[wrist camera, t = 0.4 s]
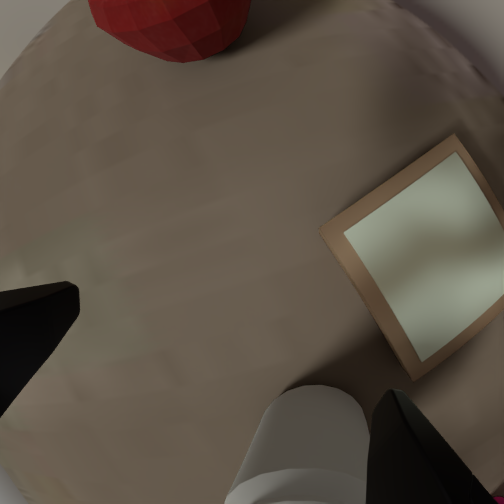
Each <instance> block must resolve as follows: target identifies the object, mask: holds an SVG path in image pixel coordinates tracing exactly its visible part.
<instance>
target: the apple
mask: <svg viewBox="0 0 504 504" xmlns="http://www.w3.org/2000/svg"><path fill="white" fill-rule="evenodd" d="M88 2H89V6H90V9H91V13H92V15H93V18H94V20H95V23H96V25H97V27H99V28H101V29H102V30H104V31H105V32H107V33H109V34H110V35H112V36H113V37H115V38H116V39H118V40H119V41H121V42H122V43H124V44H126V45H128V46H130V47H132V48H134V49H137V50H139V51H141V52H144V53H147V54H150V55H152V56H155V57H158V58H160V59H163V60H166V61H172V62H181V63H185V62H191V61H197V60H204V59H206V58H208V57H210V56H212V55H214V54H216V53H218V52H220V51H222V50H224V49H225V48H226V47H228V46H229V45H230V44H231V43H232V42H233V41H235V40H236V39H237V38H238V37H239V36H240V34H241V32H242V30H243V28H244V26H245V23H246V21H247V16H248V12H249V8H250V3H251V0H88Z"/></svg>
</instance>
